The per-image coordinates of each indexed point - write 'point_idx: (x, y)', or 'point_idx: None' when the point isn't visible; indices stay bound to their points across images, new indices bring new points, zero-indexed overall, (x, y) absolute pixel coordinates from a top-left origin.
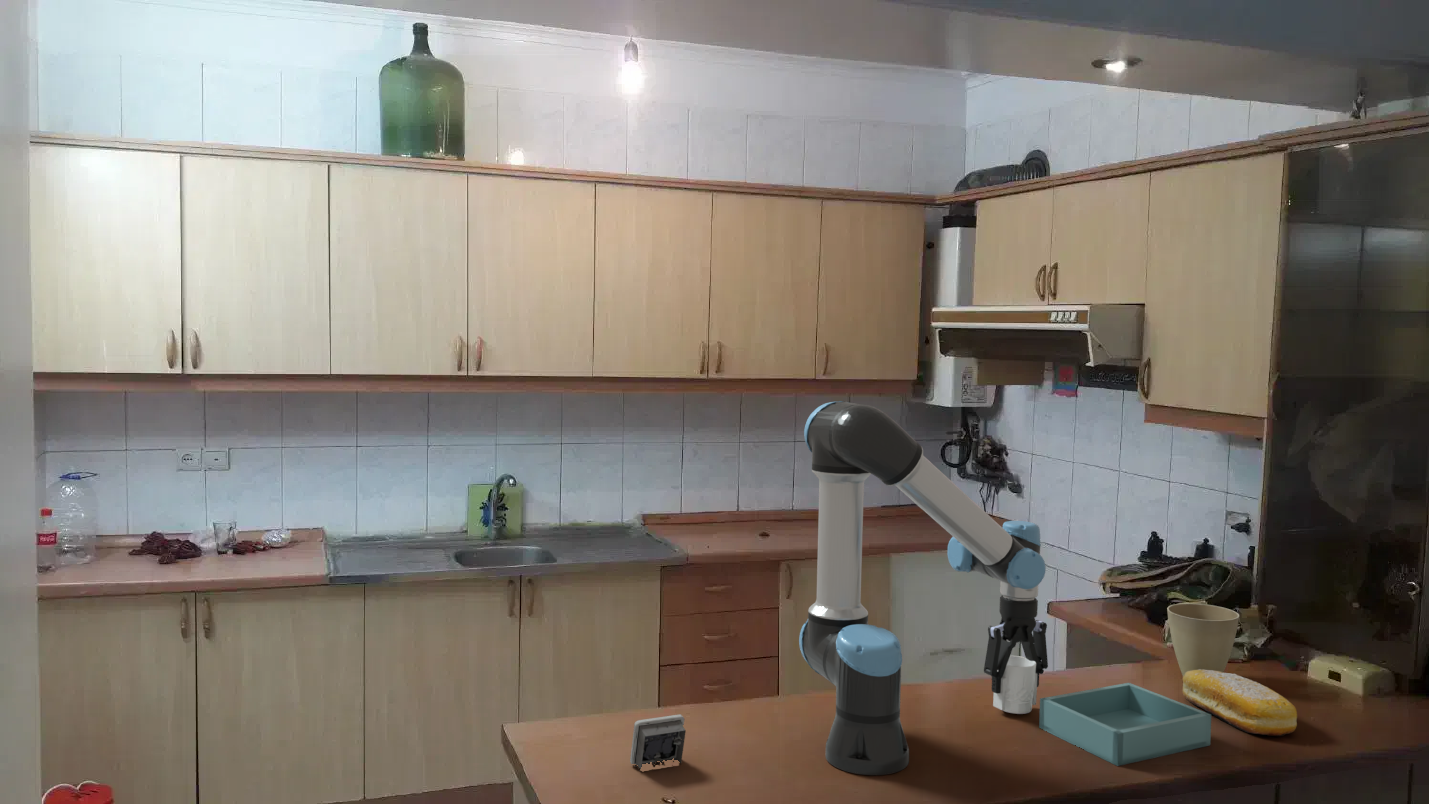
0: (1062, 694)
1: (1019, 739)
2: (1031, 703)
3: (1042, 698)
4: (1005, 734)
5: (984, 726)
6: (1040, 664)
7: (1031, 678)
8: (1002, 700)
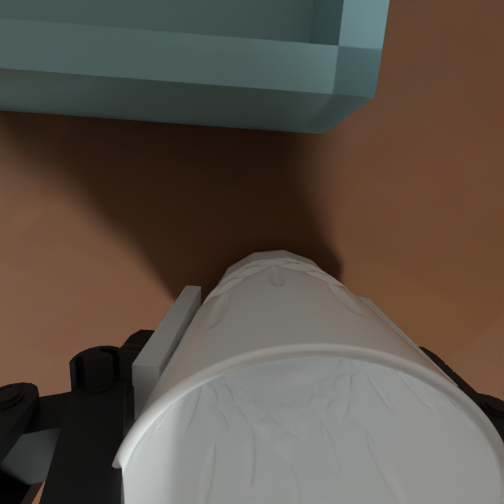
0: (168, 79)
1: (491, 79)
2: (238, 267)
3: (359, 88)
4: (490, 150)
5: (485, 249)
6: (41, 431)
7: (276, 294)
8: (384, 314)
